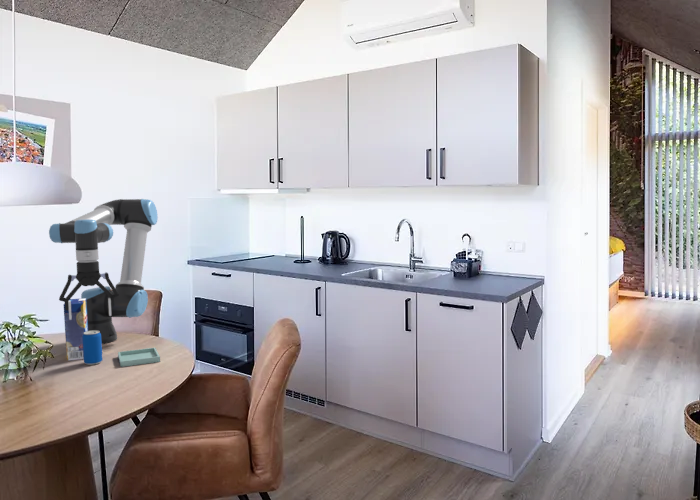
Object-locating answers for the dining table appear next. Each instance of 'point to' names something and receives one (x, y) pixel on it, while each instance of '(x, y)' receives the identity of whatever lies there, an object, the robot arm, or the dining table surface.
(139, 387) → the dining table surface
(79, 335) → the beverage box
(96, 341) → the beverage can
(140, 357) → the tray
